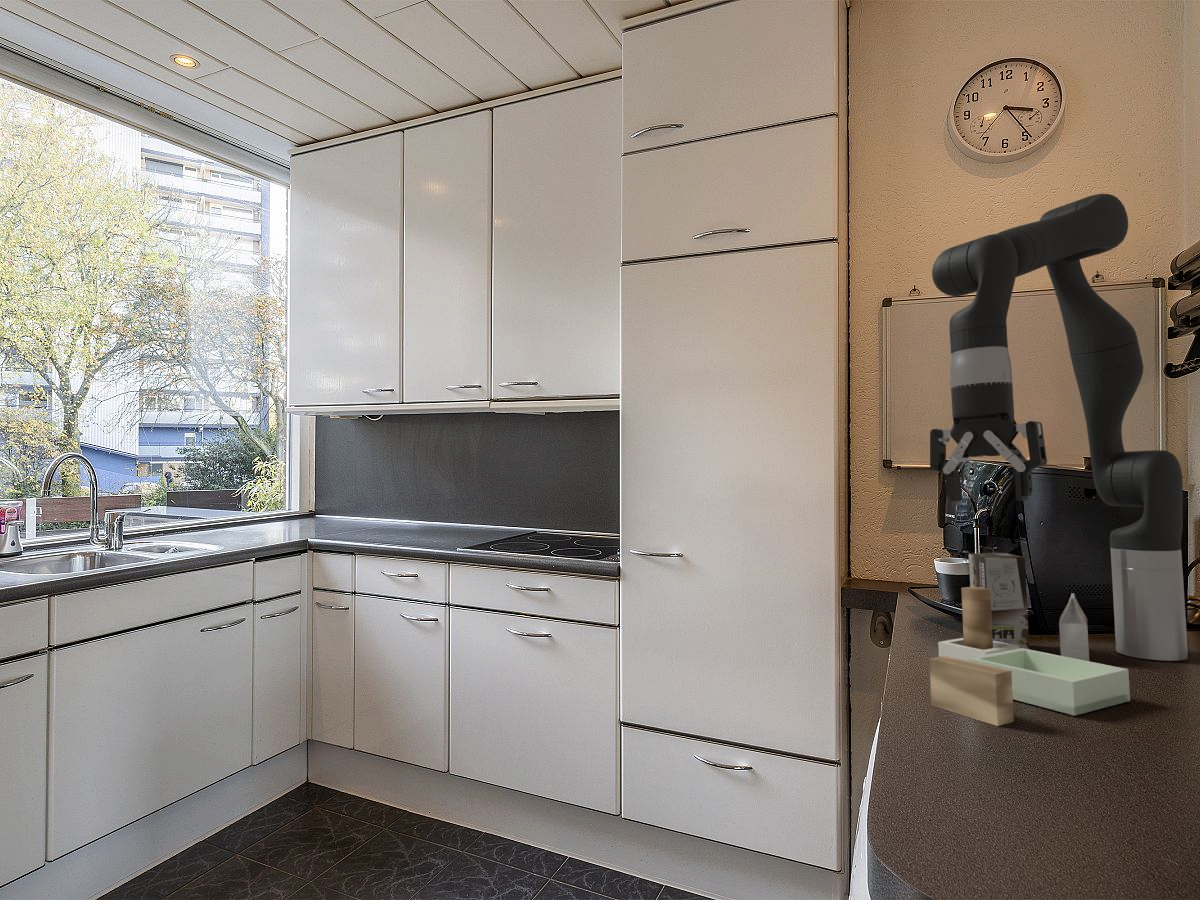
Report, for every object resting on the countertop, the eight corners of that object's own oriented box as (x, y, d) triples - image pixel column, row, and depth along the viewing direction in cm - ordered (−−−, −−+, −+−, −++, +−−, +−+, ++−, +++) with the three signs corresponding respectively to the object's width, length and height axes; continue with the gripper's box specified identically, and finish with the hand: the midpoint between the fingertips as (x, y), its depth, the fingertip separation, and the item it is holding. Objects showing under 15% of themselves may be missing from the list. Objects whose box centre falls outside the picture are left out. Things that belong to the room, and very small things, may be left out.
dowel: (975, 662, 112) (972, 586, 113) (999, 667, 109) (996, 589, 109) (959, 665, 111) (955, 588, 111) (982, 671, 107) (979, 591, 108)
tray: (1023, 675, 103) (1022, 648, 104) (1130, 700, 91) (1128, 669, 91) (969, 687, 98) (967, 658, 98) (1074, 715, 86) (1072, 682, 86)
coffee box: (1031, 655, 116) (1026, 556, 117) (988, 654, 117) (984, 556, 118) (1011, 643, 125) (1006, 551, 126) (971, 642, 126) (967, 551, 127)
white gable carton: (1061, 661, 112) (1057, 597, 113) (1062, 652, 118) (1059, 592, 118) (1089, 664, 110) (1085, 599, 111) (1088, 655, 116) (1085, 593, 116)
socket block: (972, 658, 115) (971, 636, 115) (1020, 669, 108) (1019, 645, 108) (939, 664, 111) (938, 641, 112) (986, 676, 104) (985, 652, 104)
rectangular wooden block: (947, 702, 92) (945, 655, 93) (1013, 721, 84) (1011, 670, 85) (931, 705, 91) (929, 658, 91) (997, 726, 83) (995, 674, 83)
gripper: (1048, 378, 95) (1056, 499, 94) (941, 391, 106) (947, 499, 105) (1027, 374, 90) (1035, 502, 89) (917, 388, 101) (923, 502, 100)
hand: (988, 500), depth 97 cm, fingers open, 8 cm apart
